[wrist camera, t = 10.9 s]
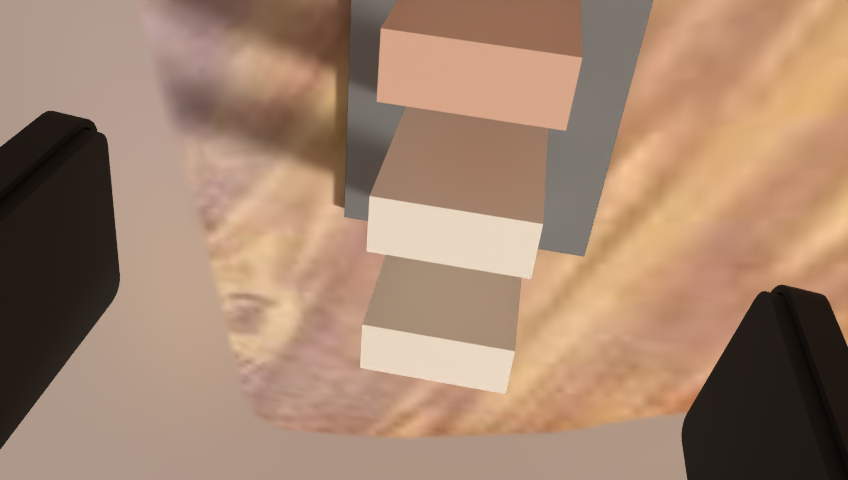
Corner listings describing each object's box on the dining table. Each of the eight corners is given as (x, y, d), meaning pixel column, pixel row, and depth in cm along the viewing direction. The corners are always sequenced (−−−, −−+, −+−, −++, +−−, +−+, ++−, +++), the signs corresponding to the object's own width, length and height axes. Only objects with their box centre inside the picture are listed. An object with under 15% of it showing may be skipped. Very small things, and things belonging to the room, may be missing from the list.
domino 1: (438, -70, 27) (380, 28, 19) (579, -51, 26) (582, 57, 18) (432, -14, 28) (376, 101, 20) (567, 5, 28) (566, 130, 20)
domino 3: (414, 171, 33) (362, 324, 25) (528, 189, 32) (514, 351, 24) (410, 209, 34) (360, 367, 26) (521, 227, 33) (505, 393, 25)
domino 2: (424, 61, 30) (369, 196, 22) (550, 80, 29) (542, 224, 21) (419, 108, 31) (366, 251, 23) (541, 126, 30) (530, 279, 22)
